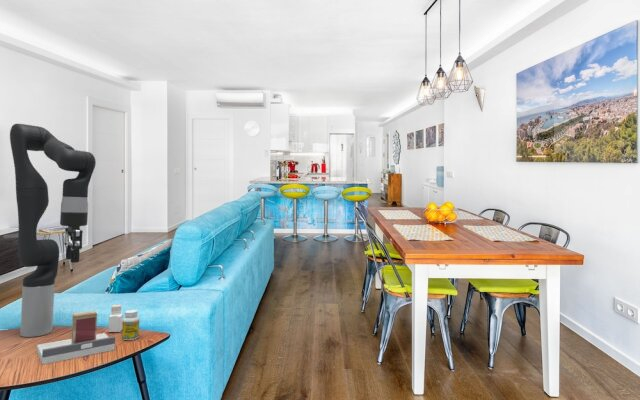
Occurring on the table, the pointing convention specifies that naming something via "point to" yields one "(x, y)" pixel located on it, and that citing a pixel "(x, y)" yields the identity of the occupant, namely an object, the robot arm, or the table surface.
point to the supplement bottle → (130, 325)
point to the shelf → (74, 348)
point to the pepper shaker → (115, 319)
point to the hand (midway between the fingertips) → (72, 260)
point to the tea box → (84, 327)
